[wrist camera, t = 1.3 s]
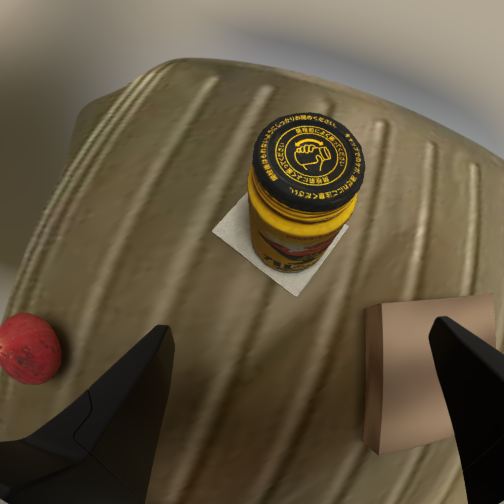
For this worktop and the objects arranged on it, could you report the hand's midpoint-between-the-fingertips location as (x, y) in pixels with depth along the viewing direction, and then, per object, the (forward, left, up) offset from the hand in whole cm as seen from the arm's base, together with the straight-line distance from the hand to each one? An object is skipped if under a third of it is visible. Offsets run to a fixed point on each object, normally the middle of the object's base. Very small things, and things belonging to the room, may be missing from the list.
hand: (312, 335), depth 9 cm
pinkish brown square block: (-4, -12, -14) cm, 19 cm away
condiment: (+8, 0, -14) cm, 16 cm away
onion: (-3, +20, -14) cm, 24 cm away
